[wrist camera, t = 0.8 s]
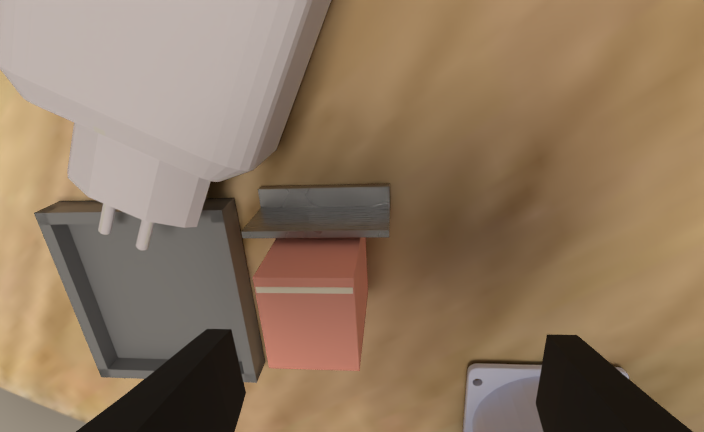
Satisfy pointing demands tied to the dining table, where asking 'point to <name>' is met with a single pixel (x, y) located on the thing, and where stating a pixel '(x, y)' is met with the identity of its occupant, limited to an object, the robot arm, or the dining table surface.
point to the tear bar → (321, 212)
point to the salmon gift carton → (313, 302)
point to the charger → (161, 91)
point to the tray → (153, 285)
